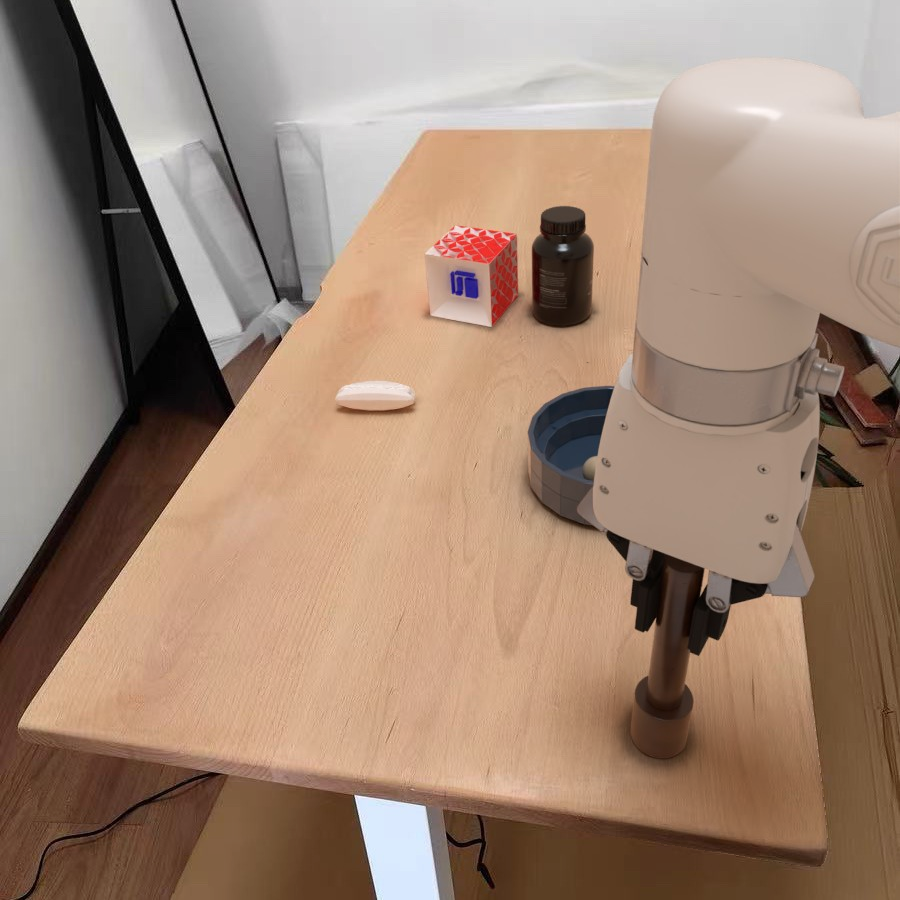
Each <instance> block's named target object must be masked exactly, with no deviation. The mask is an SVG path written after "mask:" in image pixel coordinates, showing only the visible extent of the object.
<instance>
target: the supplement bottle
mask: <svg viewBox="0 0 900 900" xmlns="http://www.w3.org/2000/svg"><path fill="white" fill-rule="evenodd" d="M586 230H587V224H586V212H585V211H584V210H583V209H581V208H579V207H577V206H571V205H559V206H558V205H557V206H552V207H549V208H546V209H545V210H543V211H542V212H541V214H540V224H539V232H540V234H539V235H537V236H536V237H535V238H534V240H533V242H532V245H531V300H532V301H531V305H532V306H531V309H532V313H533V316H534V318H536V319H537V320H538V321H539V322H542V323H543V324H546V325H551V326H555V327H556V326H557V327H564V326H567V327H568V326H573V325H577V324H579V323H581V322H583V321H585V320H586V319H588V317H589V316H590V314H591V313H592V306H593V287H594V286H593V285H594V284H593V280H594V259H595V257H594V255H595V245H594V241H593V239H592V238H591V236H590V235H589V234H587V233H586Z"/></svg>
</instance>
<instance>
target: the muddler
mask: <svg viewBox="0 0 900 900" xmlns="http://www.w3.org/2000/svg"><path fill="white" fill-rule="evenodd" d="M705 571H706V569H705V568H702V567H700V566H697V565H694V564H692V563H689V562H686V561H683V560H681V559H678V558H675V557H673V556H670V555H667V554H665V555H664V562H663V570H662V577H661V585H660V592H659V600H658V607H657V615H656V619H655V622H654V623H655V624H654V631H653V639H652V644H651V645H652V646H651V654H650V661H649V669H648V675H647V676H645V677H642V679H641V680H640V681H638V683H637V685H636V686H635V689H634V694H633V703H632V704H633V706H632V712H631V720H630V727H629V728H630V729H629V730H630V731H629V733H630V737H631V740H632V742H633V744H634V745H635V747H637V749H638V750H639V751H640V752H642V753H644V754H645V755H647V756H649V757H652V758H656V759H669V758H673V757H676V756H677V755H679V754H680V753H682V751H683V750H684V749H685V747H686V744H687V740H688V734H689V731H690V725H691V719H692V714H693V708H694V702H695V701H694V696H693V693H692V692H693V691H692V690H691V689H690V687H689V686H688V685H687V684H686V680H687V675H688V667H689V663H690V657H691V653H690V650H689V649H687V647H688V641H689V635H690V629H691V623H692V618H693V612H694V608H695V605H696V603H697V601H698V599H699V598H700V596H701V594H702V588H703V582H704V576H705Z"/></svg>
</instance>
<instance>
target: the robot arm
mask: <svg viewBox="0 0 900 900" xmlns="http://www.w3.org/2000/svg"><path fill="white" fill-rule="evenodd" d="M644 201H645V203H644V215H643V225H642V238H641V249H640V250H641V251H640V263H639V274H638V275H639V276H638V288H637V300H636V311H635V312H636V313H635V322H634V337H633V346H632V347H633V348H632V352H631V353H630V354H629V355H628V356H627V358H626V360H625V362H624V363H623V365H622V366H621V367H620V371H619V373H618V375H617V377H616V378H617V379H616V381H615V384H614V386H615V387H614V390H613V393H612V396H611V400H610V403H609V407H608V411H607V415H606V419H605V423H604V427H603V431H602V436H601V440H600V445H599V450H598V456H597V462H596V469H595V477H594V486H593V487H592V488H591V490H590V491H589V492H588V493H587V495H586V496H585V497H584V498H583V500H582V501H581V502H580V504H579V505H578V507H577V511H578V513H579V514H580V515H581V516H582V517H583V518H584V519H586V520H587V521H588V522H590V523H591V524H592V525H591V526H593V525H594V527H595V528H596V529H597V530H599V531H600V532H601V533H603V532H604V533H605V536H606V539H607V540H608V541H609V542H610V544H611V545H612V546H613V547H614V549H615V550H616V551H617V552H618V553H619V555H620V556H621V557H622V558H623V560H624V561H625V567H624V568H625V569H624V570H625V573H626V575H627V576H628V577H629V578H630V579H632V583H631V592H630V606H632V607H635V608H636V613H635V623H634V630H636V631H638V632H640V633H645V632H646V633H648V632H649V631H650V629H651V627H652V626H653V624H654V623H655V621H656V615H657V607H658V600H659V592H660V585H661V577H662V570H663V562H664V555H665V554H667V555H670V556H673V557H675V558H678V559H681V560H683V561H686V562H689V563H692V564H694V565H697V566H700V567H702V568H705V570H707V571H708V574H707V575H708V576H707V583H706V585H705V587H704V589H703V590H702V591H701V594H700V598H699V599H698V601H697V603H696V605H695V608H694V612H693V618H692V623H691V629H690V635H689V641H688V647H687V649H689V650H690V654H692V655H695V656H697V657H699V656H700V655H701V653H702V652H703V649H704V648H705V646H706V644H707V642H708V640H709V638H710V639H712V640H715V641H717V642H718V641H720V639H721V637H722V635H723V633H724V631H725V629H726V626H727V623H728V620H729V615H730V611H731V607H732V606H733V605H736V604H740V603H742V602H748V601H752V600H755V599H759V598H762V597H764V595H771V596H772V597H788V598H804V597H806V596H808V595H809V592H810V589H811V587H812V585H813V583H814V581H815V577H816V576H815V573H814V569H813V566H812V563H811V560H810V557H809V555H808V552H807V549H806V545H805V543H804V540H803V537H802V534H801V533H802V530H803V527H804V524H805V520H806V516H807V512H808V508H809V503H810V498H811V494H812V488H813V483H814V477H815V471H816V465H817V456H818V450H819V449H818V448H819V439H820V420H821V419H820V418H821V412H820V396H819V395H820V394H821V395H825V396H828V397H833V398H835V397H836V395H837V393H838V390H839V388H840V385H841V382H842V380H843V376H844V373H845V366H843V365H838V364H834V363H830V362H828V359H827V358H824V357H820V348H819V349H818V348H816V346H817V342H818V337H819V333H817V332H816V331H817V327H818V322H819V318H820V314H821V315H824V316H825V317H827V318H829V319H831V320H833V321H835V322H837V323H839V324H841V325H843V326H845V327H847V328H849V329H851V330H853V331H855V332H858V333H860V334H862V335H864V336H867V337H869V338H871V339H873V340H876V341H879V342H882V343H884V344H887V345H889V346H893V347H895V348H899V349H900V110H899V111H895V112H893V113H892V112H891V113H889V114H885V115H881V116H876V117H867V118H866V117H865V116H864V108H863V103H862V98H861V95H860V93H859V91H858V89H857V87H856V86H855V85H854V83H852V81H850V80H849V79H848V77H846V76H845V75H844V74H842V73H840V72H838V71H836V70H834V69H832V68H830V67H827V66H823V65H820V64H816V63H813V62H810V61H805V60H799V59H793V58H784V57H771V56H770V57H768V56H751V57H748V56H747V57H735V58H727V59H721V60H716V61H715V60H714V61H711V62H707V63H703V64H701V65H696V66H694V67H692V68H688V69H687V70H685V71H683V72H682V73H680V74H679V75H677V76H676V77H674V78H673V79H672V80H671V81H670V82H669V83H668V84H667V85H666V87H665V88H664V89H663V91H662V93H661V95H660V96H659V98H658V101H657V103H656V106H655V109H654V112H653V116H652V125H651V131H650V141H649V152H648V166H647V178H646V189H645V200H644ZM605 461H606V462H605Z"/></svg>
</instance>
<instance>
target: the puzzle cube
mask: <svg viewBox="0 0 900 900" xmlns="http://www.w3.org/2000/svg"><path fill="white" fill-rule="evenodd" d="M518 257H519V256H518V234H517V233H513V232H507V231H499V230H492V229H485V228H479V227H471V226H464V225H457V224H455V225H454V226H453V227H451V229H449V230H448V231H447V232H446V233H445V234H444V235H443V236H442V237H441V238H440V239H439V240H438V241H436V243H434V245H432V246H431V247H430V248H429V249H428V250H427V251H426V252H425V253H424V263H425V272H426V284H427V295H428V306H429V315H430V317H435V318H440V319H446V320H453V321H456V322H462V323H468V324H473V325H477V326H478V325H479V326H483V327H489V328H493V327H494V326H495V324H496V323H497V322H498V321H499V319H500V318H501V317H502V316H503V315H504V314H505V312H507V310H508V309H509V307H510V306H511V305H512V304H513V303H514V302H515V300H516V299H517V298H518V296H519V268H518V267H519V264H518V263H519V261H518V260H519V259H518Z"/></svg>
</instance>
